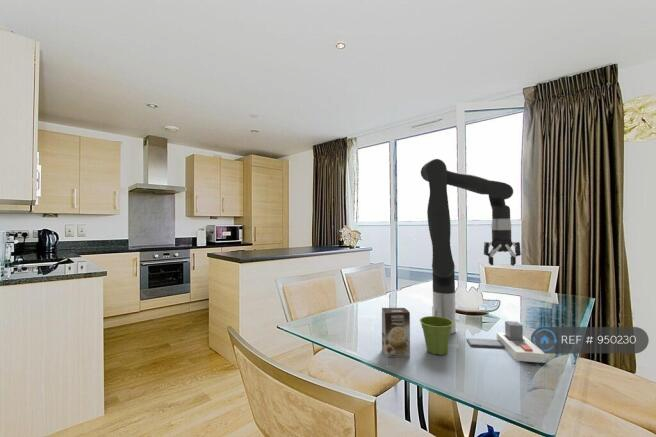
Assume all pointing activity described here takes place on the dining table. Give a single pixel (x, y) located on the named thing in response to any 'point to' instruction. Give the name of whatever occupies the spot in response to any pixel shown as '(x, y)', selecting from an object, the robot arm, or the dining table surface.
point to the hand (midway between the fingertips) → (502, 265)
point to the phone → (485, 343)
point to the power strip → (522, 349)
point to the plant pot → (436, 333)
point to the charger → (513, 331)
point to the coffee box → (396, 332)
